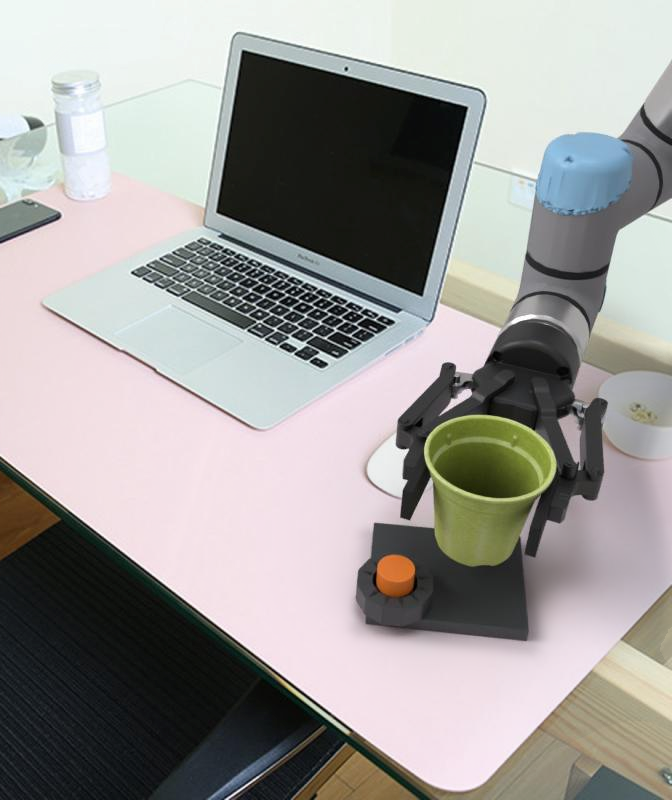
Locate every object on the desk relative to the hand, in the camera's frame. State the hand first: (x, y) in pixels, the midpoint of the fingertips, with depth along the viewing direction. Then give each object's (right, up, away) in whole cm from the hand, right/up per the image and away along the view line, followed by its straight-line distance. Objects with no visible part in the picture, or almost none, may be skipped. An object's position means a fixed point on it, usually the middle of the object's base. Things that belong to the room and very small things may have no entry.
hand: (468, 523), depth 67 cm
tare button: (-4, -5, +5) cm, 9 cm away
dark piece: (0, -6, +9) cm, 11 cm away
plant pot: (+2, -2, +7) cm, 8 cm away
